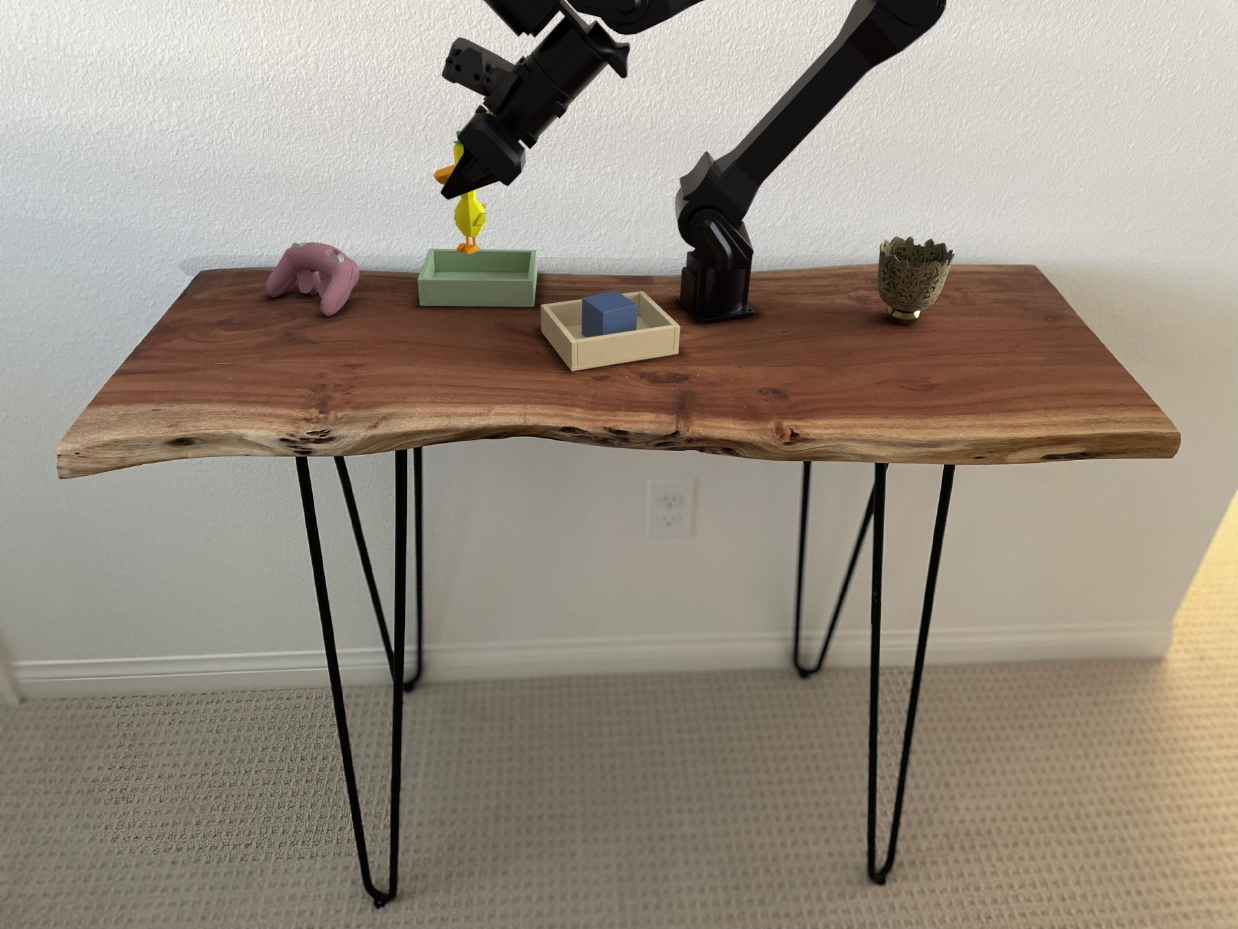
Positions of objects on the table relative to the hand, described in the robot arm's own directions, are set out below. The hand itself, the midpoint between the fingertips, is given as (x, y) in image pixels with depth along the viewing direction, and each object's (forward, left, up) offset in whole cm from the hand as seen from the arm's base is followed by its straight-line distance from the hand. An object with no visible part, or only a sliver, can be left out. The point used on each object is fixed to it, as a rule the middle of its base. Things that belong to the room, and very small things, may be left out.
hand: (448, 188), depth 94 cm
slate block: (-12, +15, -12) cm, 22 cm away
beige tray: (-12, +15, -12) cm, 23 cm away
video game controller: (+14, -5, -12) cm, 20 cm away
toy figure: (-1, +1, -7) cm, 7 cm away
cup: (-44, +20, -12) cm, 50 cm away
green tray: (-3, -2, -12) cm, 13 cm away
